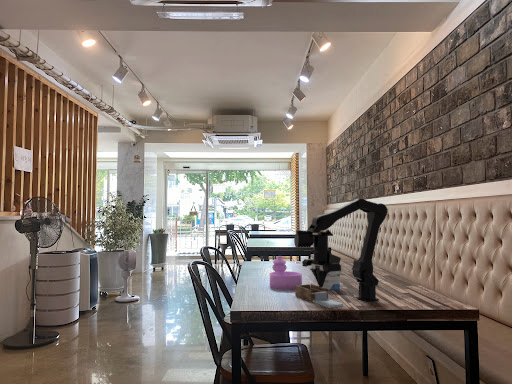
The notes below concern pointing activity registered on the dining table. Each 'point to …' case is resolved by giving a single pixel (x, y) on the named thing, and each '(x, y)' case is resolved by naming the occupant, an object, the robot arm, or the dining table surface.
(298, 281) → the container set
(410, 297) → the dining table surface
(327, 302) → the lid
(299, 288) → the case
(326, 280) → the ink box
